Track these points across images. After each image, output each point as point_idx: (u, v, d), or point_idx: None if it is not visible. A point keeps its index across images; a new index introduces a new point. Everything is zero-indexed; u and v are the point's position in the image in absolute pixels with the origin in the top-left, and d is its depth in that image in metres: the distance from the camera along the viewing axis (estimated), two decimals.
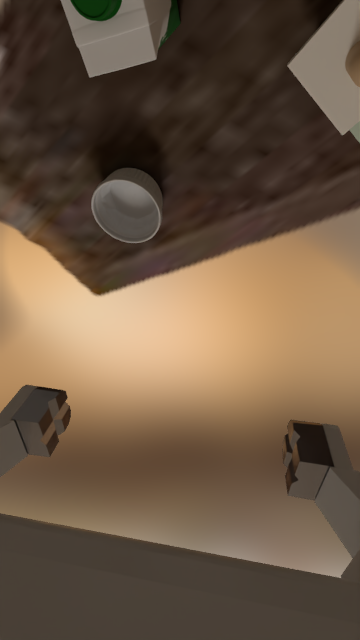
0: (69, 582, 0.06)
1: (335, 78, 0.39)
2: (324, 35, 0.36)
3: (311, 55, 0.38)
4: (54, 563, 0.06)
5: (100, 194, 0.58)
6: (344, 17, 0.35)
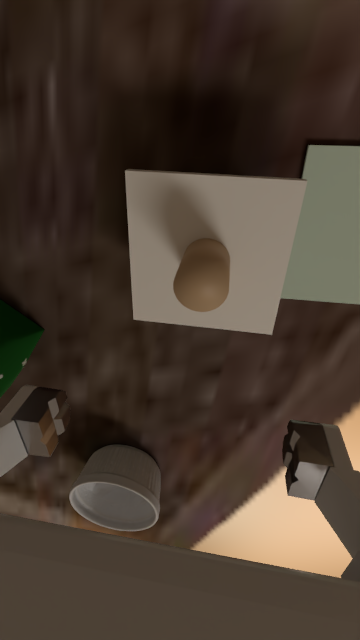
0: (69, 582, 0.06)
1: None
2: (141, 274, 0.25)
3: (147, 296, 0.26)
4: (54, 563, 0.06)
5: (85, 491, 0.48)
6: (145, 248, 0.24)
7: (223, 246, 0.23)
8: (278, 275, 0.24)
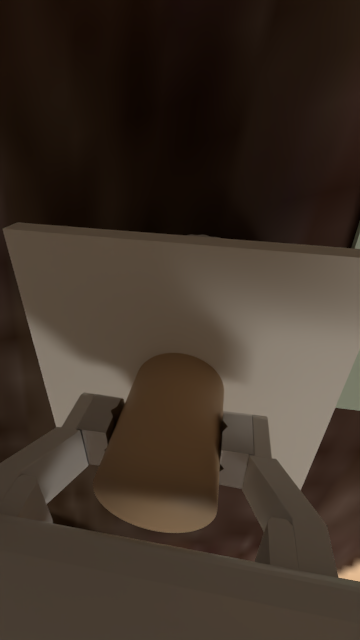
0: (69, 582, 0.06)
1: None
2: (66, 398, 0.14)
3: None
4: (54, 563, 0.06)
5: None
6: (65, 361, 0.13)
7: (210, 370, 0.12)
8: (316, 418, 0.12)
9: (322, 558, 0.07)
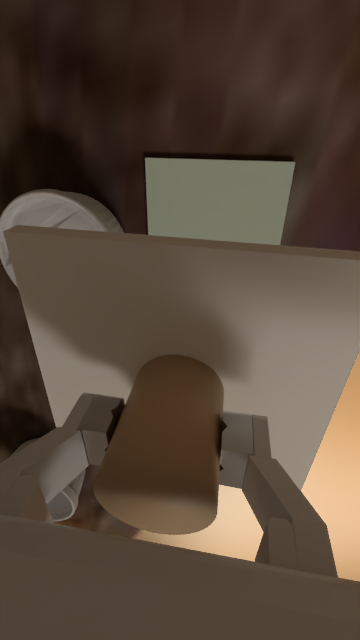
0: (69, 582, 0.06)
1: None
2: (66, 400, 0.14)
3: None
4: (54, 563, 0.06)
5: None
6: (65, 363, 0.13)
7: (210, 372, 0.12)
8: (315, 420, 0.12)
9: (322, 558, 0.07)
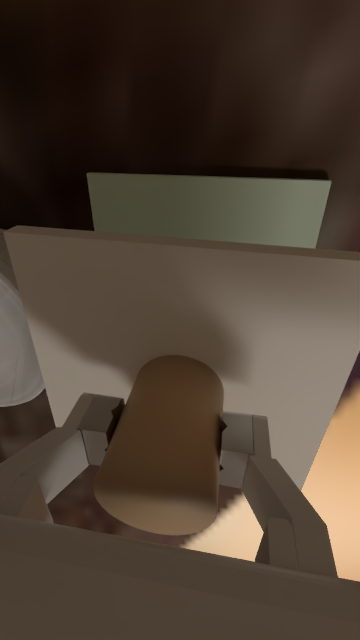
0: (69, 582, 0.06)
1: None
2: (66, 400, 0.14)
3: None
4: (54, 563, 0.06)
5: None
6: (65, 363, 0.13)
7: (210, 372, 0.12)
8: (315, 420, 0.12)
9: (322, 558, 0.07)
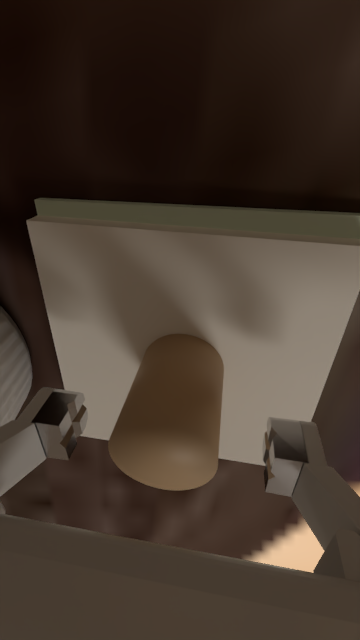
0: (69, 582, 0.06)
1: None
2: (78, 378, 0.15)
3: (92, 408, 0.16)
4: (54, 563, 0.06)
5: None
6: (79, 343, 0.14)
7: (211, 349, 0.13)
8: (307, 394, 0.14)
9: None
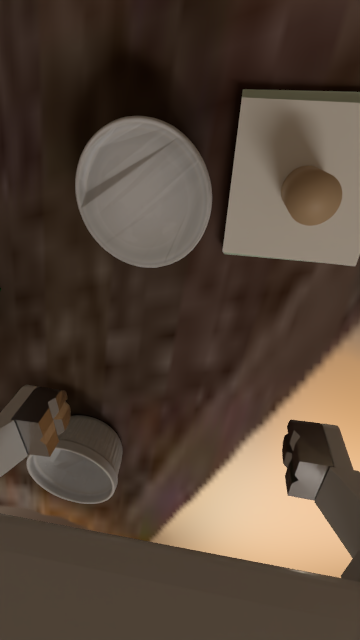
0: (69, 582, 0.06)
1: (288, 226, 0.28)
2: (238, 204, 0.27)
3: (240, 227, 0.28)
4: (54, 563, 0.06)
5: (45, 461, 0.48)
6: (246, 176, 0.26)
7: None
8: None
9: None
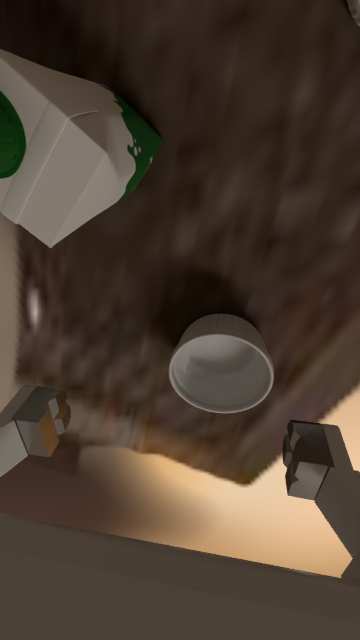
0: (69, 582, 0.06)
1: None
2: None
3: None
4: (54, 563, 0.06)
5: (179, 368, 0.43)
6: None
7: None
8: None
9: None
